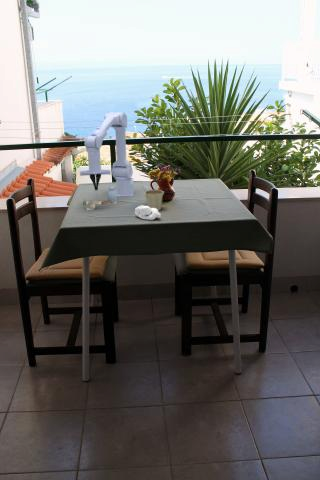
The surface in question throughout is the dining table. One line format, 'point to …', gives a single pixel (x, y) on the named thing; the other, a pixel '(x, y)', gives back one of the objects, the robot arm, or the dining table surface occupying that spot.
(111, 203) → the track
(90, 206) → the die
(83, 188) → the dining table surface
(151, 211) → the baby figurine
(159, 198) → the flower pot
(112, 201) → the pawn
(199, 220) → the dining table surface
